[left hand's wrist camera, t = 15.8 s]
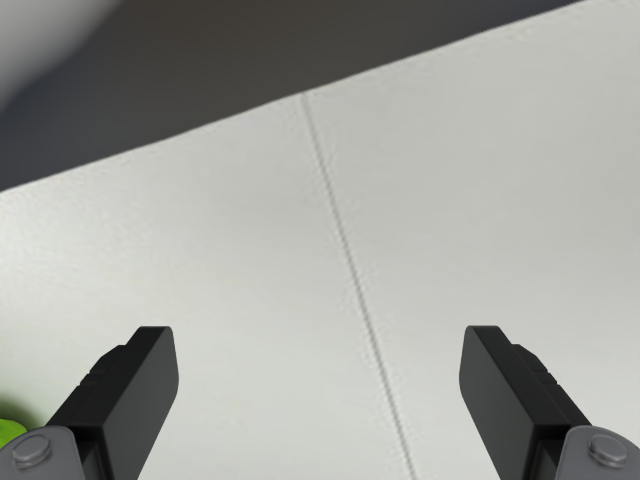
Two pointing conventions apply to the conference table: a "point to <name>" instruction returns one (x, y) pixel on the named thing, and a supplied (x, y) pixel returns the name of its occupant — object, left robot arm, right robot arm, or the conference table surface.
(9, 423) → the decorative tree
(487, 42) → the conference table surface
